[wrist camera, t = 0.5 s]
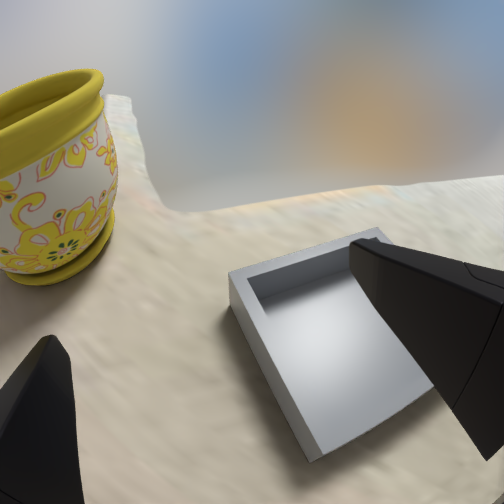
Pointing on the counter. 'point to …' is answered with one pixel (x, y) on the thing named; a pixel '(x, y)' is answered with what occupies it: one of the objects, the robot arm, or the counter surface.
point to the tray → (324, 345)
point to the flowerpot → (55, 177)
